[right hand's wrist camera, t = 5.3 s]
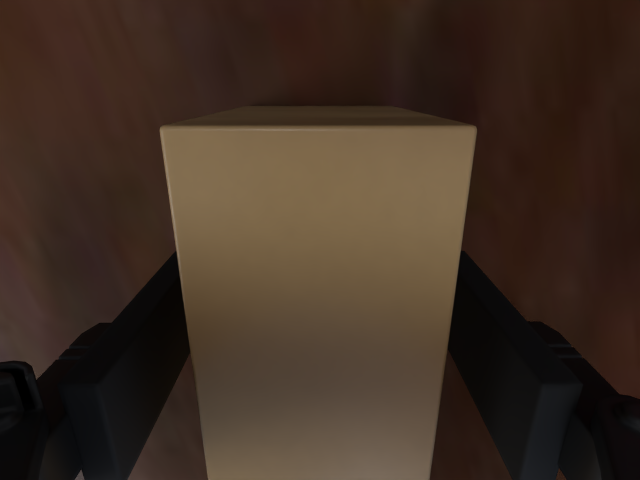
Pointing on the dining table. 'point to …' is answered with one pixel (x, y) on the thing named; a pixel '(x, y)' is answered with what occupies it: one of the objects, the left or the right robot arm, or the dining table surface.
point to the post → (318, 284)
